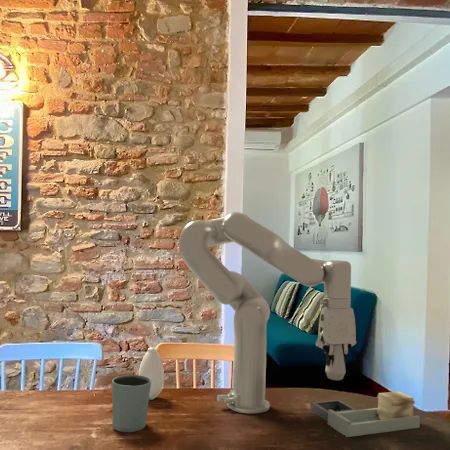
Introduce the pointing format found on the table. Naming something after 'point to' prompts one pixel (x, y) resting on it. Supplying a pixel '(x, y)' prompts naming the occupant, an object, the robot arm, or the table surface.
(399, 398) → the crate
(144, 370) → the white vase
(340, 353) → the salt shaker
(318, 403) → the grey square frame
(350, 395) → the table surface
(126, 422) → the green cup
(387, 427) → the bay
